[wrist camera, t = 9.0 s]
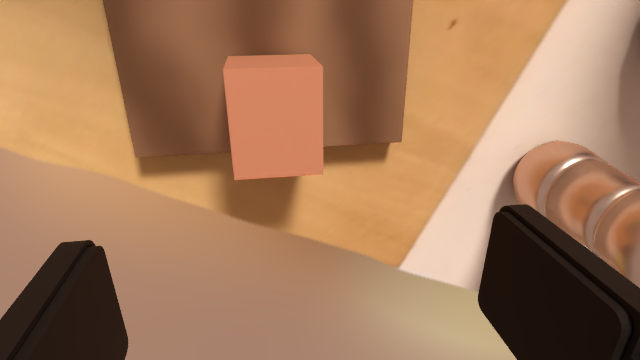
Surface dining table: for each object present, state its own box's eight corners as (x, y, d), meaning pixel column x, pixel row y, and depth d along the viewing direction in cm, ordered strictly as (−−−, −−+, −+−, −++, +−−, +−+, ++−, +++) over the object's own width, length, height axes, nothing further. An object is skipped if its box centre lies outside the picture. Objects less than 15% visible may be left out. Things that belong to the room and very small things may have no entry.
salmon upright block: (310, 54, 25) (322, 66, 21) (311, 145, 28) (323, 174, 23) (228, 56, 24) (222, 69, 20) (236, 149, 27) (234, 180, 22)
